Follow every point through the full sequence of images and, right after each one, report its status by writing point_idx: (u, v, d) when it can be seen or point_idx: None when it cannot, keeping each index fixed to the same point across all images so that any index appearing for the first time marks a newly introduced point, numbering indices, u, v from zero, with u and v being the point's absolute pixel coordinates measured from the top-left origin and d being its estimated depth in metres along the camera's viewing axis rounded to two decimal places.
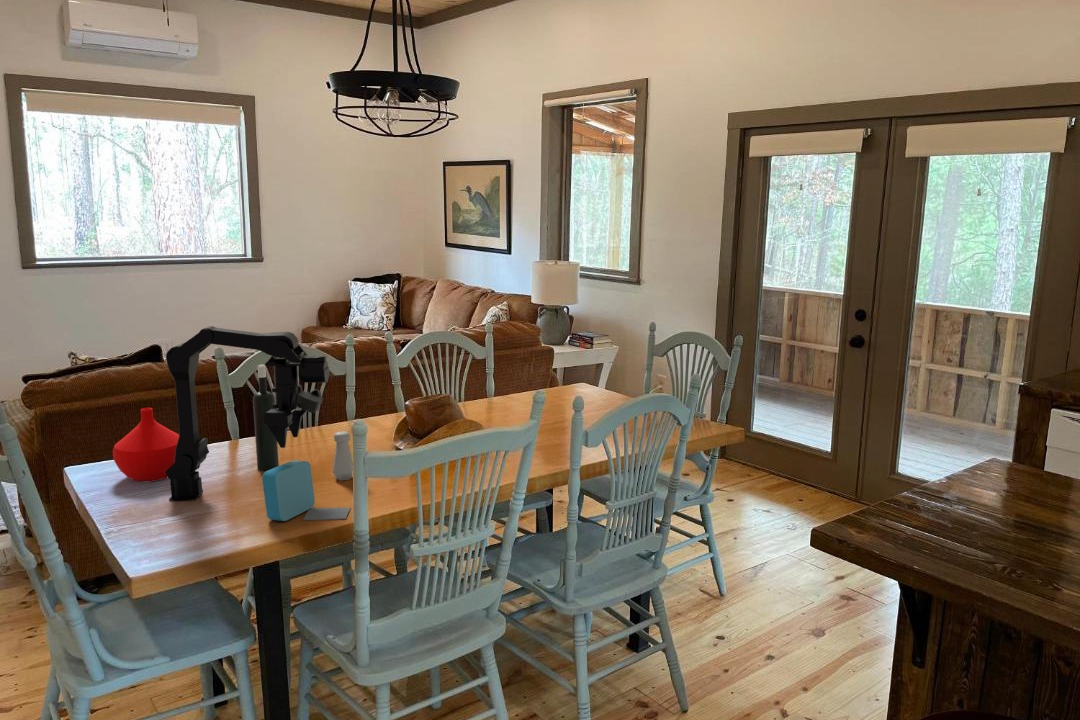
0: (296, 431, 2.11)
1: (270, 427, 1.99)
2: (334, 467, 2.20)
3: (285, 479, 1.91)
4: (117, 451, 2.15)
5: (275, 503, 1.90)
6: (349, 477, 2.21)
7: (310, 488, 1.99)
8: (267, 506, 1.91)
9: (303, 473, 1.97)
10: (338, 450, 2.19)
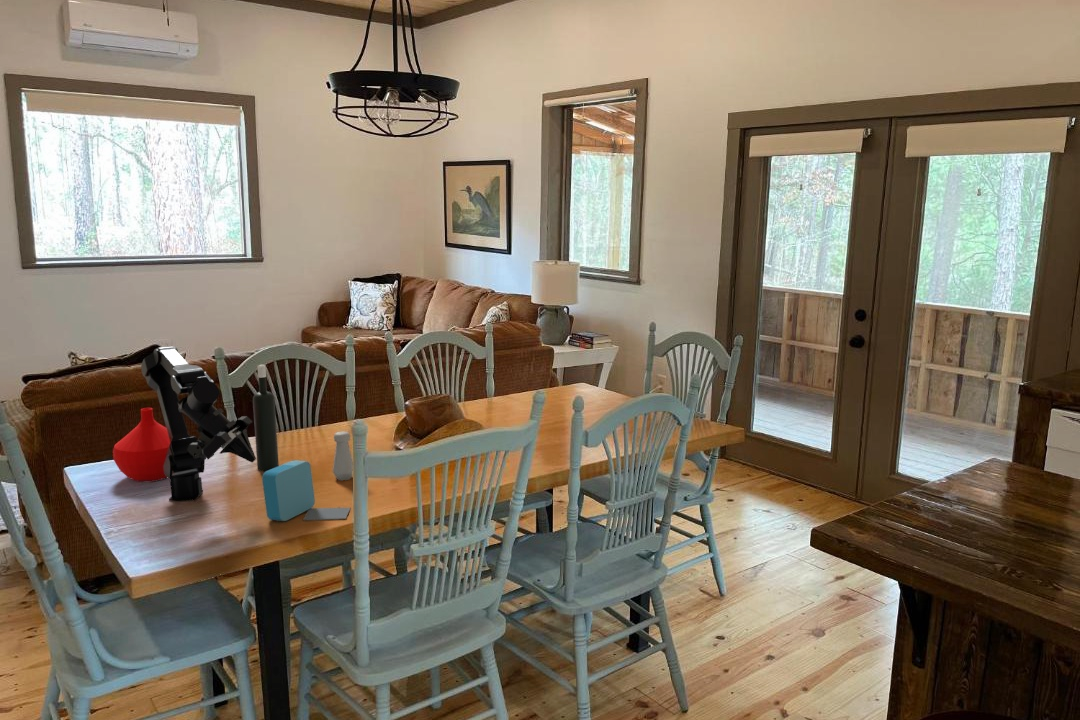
0: None
1: None
2: (334, 467, 2.20)
3: (285, 479, 1.91)
4: (117, 451, 2.15)
5: (274, 503, 1.90)
6: (349, 477, 2.21)
7: (310, 488, 1.99)
8: (267, 506, 1.91)
9: (303, 473, 1.97)
10: (338, 450, 2.19)
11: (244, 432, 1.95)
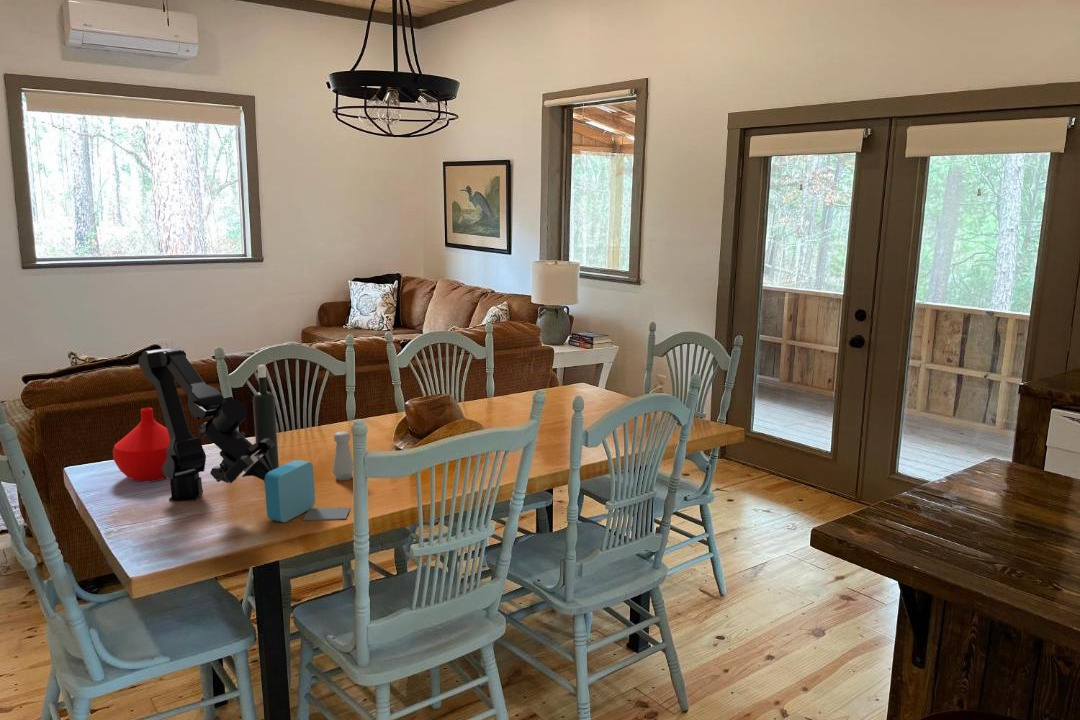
0: None
1: None
2: (334, 467, 2.20)
3: (287, 481, 1.90)
4: (117, 451, 2.15)
5: (276, 505, 1.90)
6: (349, 477, 2.21)
7: (311, 488, 1.98)
8: (268, 506, 1.91)
9: (306, 474, 1.96)
10: (338, 450, 2.19)
11: (266, 455, 1.94)
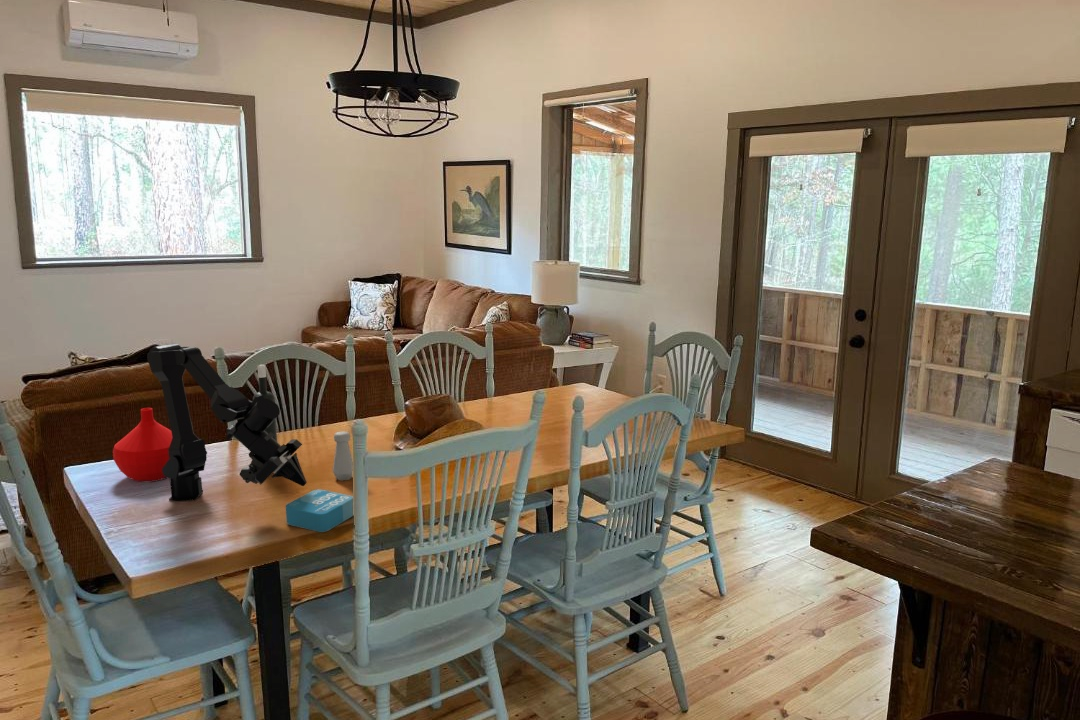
0: None
1: None
2: (334, 467, 2.20)
3: None
4: (117, 451, 2.15)
5: (298, 522, 1.88)
6: (349, 477, 2.21)
7: None
8: (295, 511, 1.88)
9: None
10: (338, 450, 2.19)
11: (295, 456, 1.95)
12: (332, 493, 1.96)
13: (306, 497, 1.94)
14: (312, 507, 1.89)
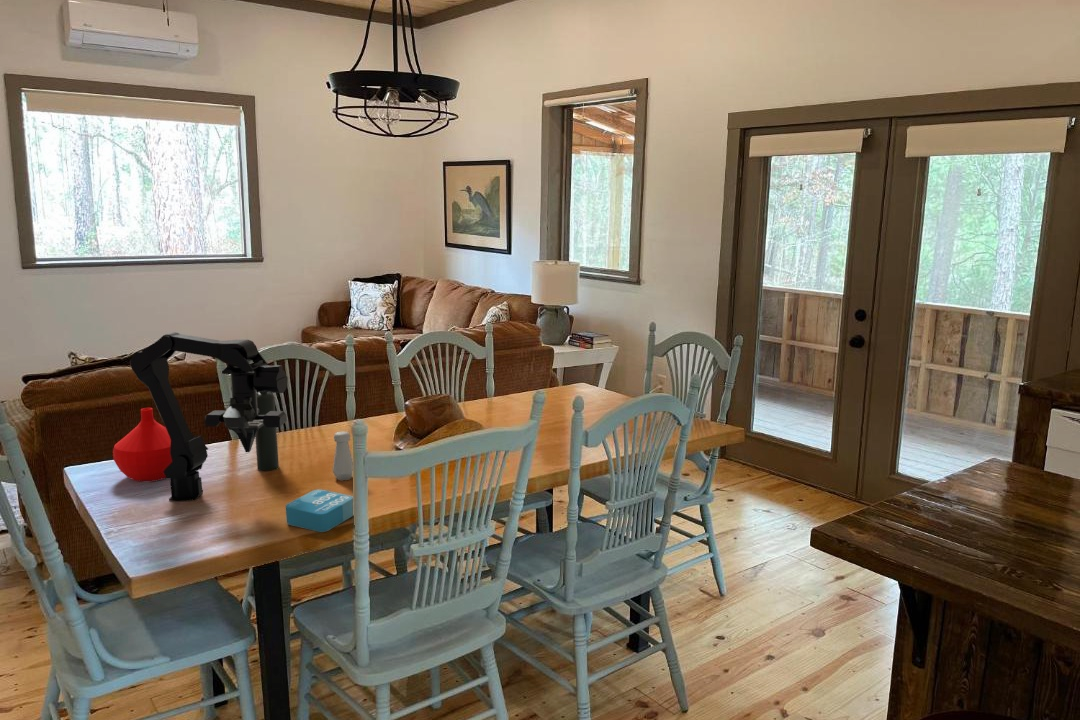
0: None
1: None
2: (334, 467, 2.20)
3: None
4: (117, 451, 2.15)
5: (298, 522, 1.88)
6: (349, 477, 2.21)
7: None
8: (295, 511, 1.88)
9: None
10: (338, 450, 2.19)
11: None
12: (332, 493, 1.96)
13: (306, 497, 1.94)
14: (312, 507, 1.89)
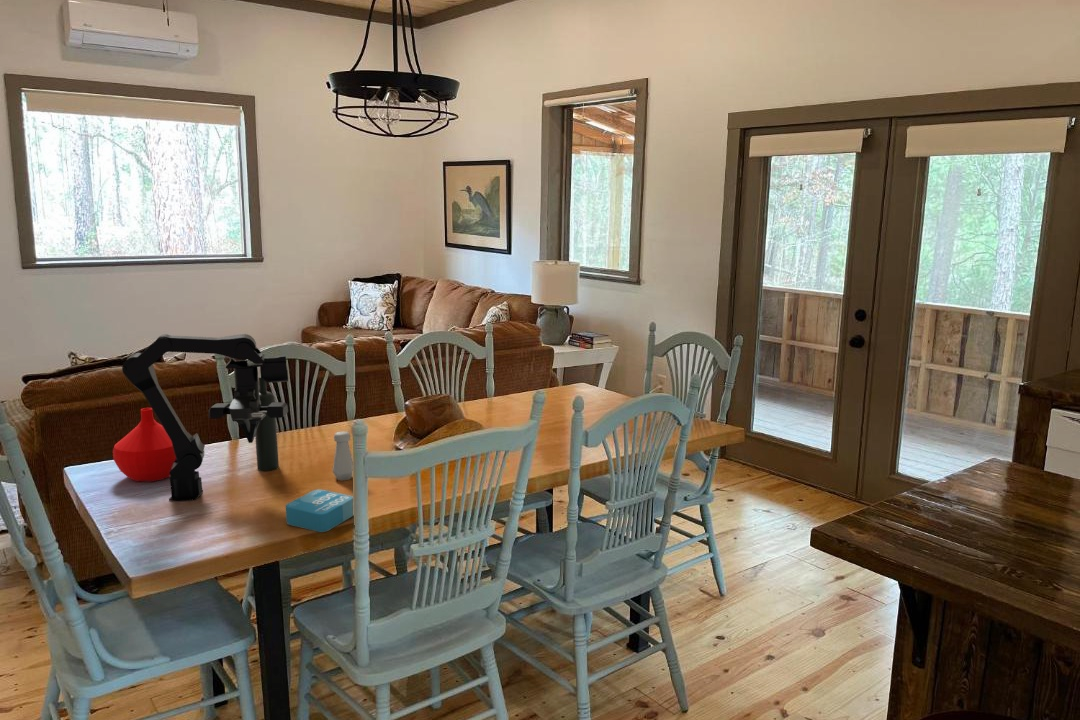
0: None
1: None
2: (334, 467, 2.20)
3: None
4: (117, 451, 2.15)
5: (298, 522, 1.88)
6: (349, 477, 2.21)
7: None
8: (295, 511, 1.88)
9: None
10: (338, 450, 2.19)
11: None
12: (332, 493, 1.96)
13: (306, 497, 1.94)
14: (312, 507, 1.89)
